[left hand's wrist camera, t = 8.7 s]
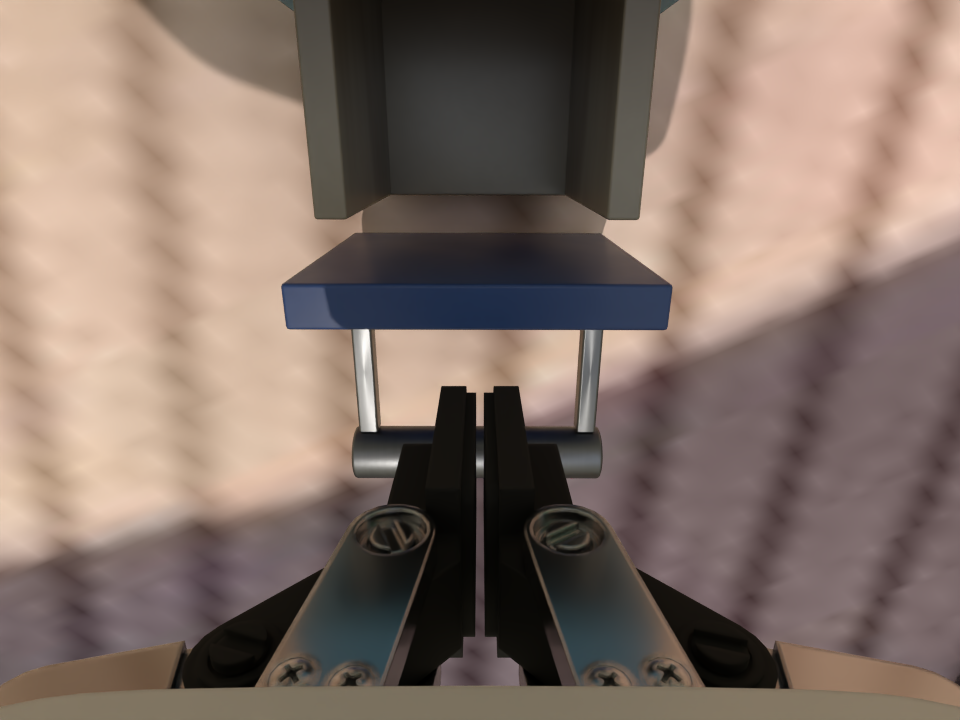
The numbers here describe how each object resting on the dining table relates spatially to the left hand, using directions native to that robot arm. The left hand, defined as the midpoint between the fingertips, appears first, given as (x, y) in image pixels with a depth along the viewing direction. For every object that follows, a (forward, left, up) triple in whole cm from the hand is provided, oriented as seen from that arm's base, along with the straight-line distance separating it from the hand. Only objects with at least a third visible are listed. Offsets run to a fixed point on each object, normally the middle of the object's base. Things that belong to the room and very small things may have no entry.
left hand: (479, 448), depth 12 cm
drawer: (-2, +5, -12) cm, 13 cm away
